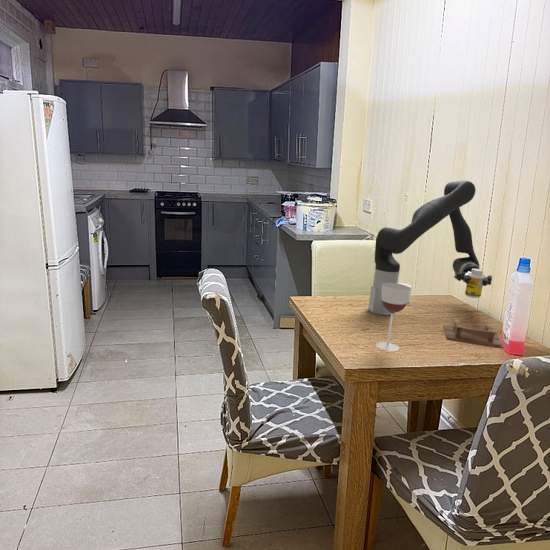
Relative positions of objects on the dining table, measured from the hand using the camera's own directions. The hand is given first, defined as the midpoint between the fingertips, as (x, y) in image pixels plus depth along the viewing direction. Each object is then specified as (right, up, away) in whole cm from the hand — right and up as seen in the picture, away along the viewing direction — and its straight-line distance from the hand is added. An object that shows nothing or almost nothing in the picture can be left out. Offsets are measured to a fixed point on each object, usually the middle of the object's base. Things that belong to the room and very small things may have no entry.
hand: (476, 282), depth 186 cm
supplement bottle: (0, -5, +4) cm, 7 cm away
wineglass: (-38, -20, -23) cm, 49 cm away
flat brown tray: (-4, -19, -7) cm, 21 cm away
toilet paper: (-20, -8, +36) cm, 43 cm away
